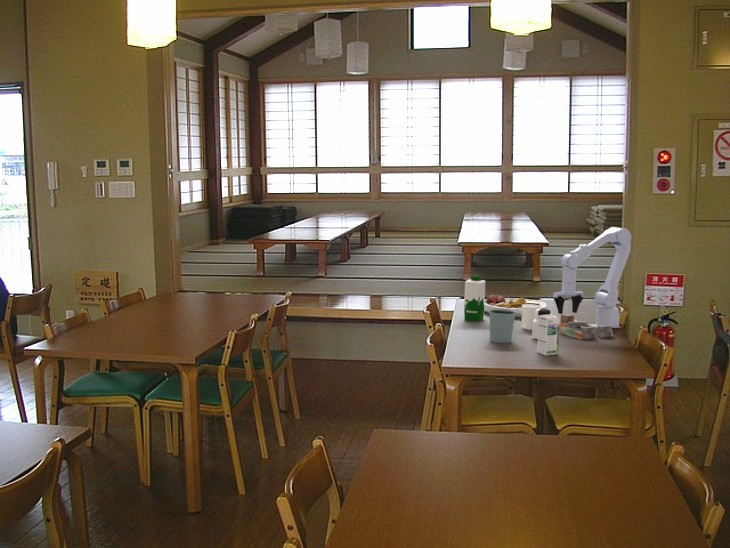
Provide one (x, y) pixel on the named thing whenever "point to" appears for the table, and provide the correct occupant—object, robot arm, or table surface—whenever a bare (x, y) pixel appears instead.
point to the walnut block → (566, 318)
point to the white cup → (528, 315)
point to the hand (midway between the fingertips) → (567, 313)
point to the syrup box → (548, 334)
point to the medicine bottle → (535, 323)
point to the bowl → (509, 304)
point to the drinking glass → (501, 325)
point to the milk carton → (474, 299)
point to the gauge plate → (575, 325)
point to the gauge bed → (588, 331)
